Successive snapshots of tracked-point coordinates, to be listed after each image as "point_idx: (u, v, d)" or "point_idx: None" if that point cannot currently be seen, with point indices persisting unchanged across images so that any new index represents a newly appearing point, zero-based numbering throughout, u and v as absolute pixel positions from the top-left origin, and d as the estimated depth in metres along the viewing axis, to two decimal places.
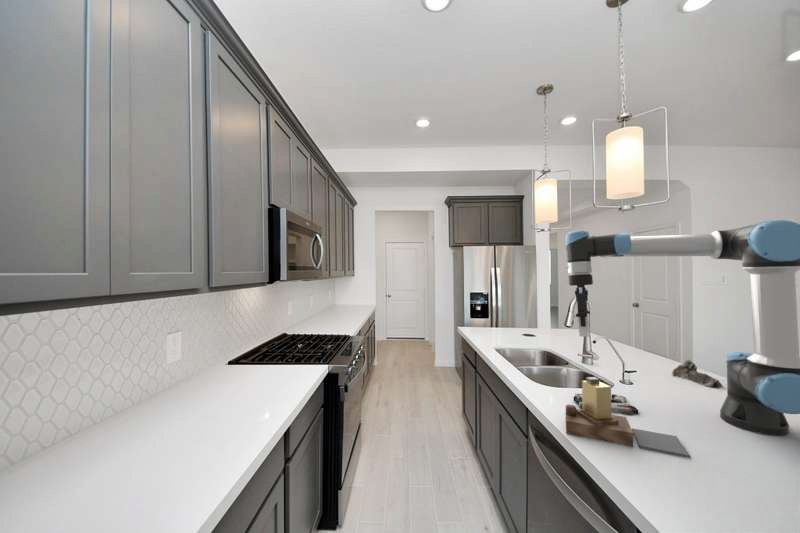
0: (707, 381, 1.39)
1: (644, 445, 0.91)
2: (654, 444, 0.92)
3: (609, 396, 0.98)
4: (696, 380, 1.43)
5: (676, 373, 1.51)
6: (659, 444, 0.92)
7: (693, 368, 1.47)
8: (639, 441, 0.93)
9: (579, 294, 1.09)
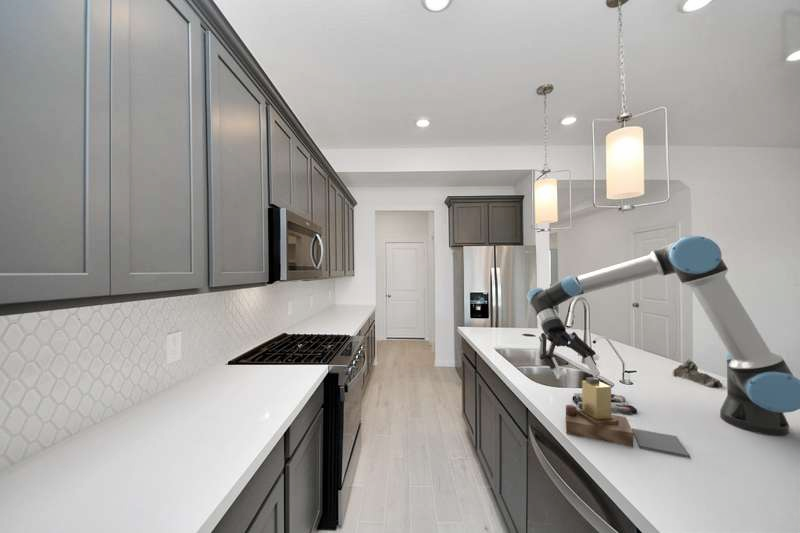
0: (708, 381, 1.39)
1: (644, 445, 0.91)
2: (654, 444, 0.92)
3: (609, 396, 0.98)
4: (697, 380, 1.43)
5: (677, 373, 1.51)
6: (659, 444, 0.92)
7: (694, 368, 1.47)
8: (639, 441, 0.93)
9: (541, 341, 1.16)
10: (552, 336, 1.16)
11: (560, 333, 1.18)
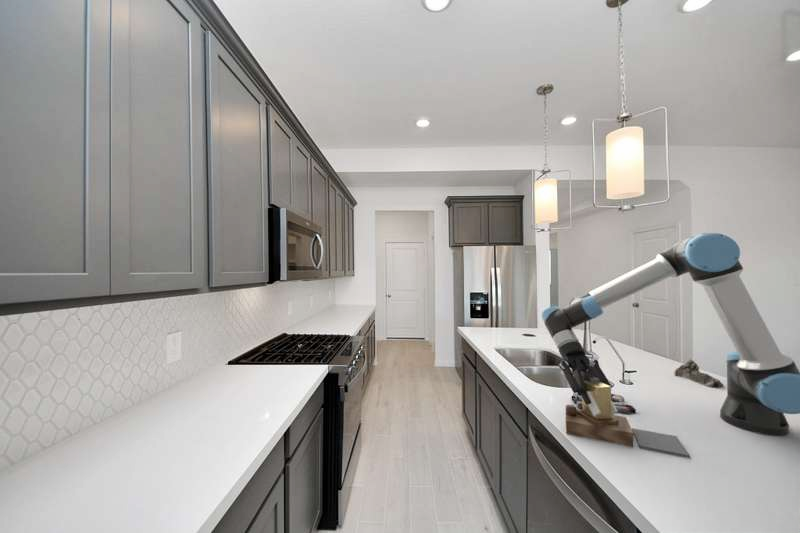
0: (708, 381, 1.39)
1: (644, 445, 0.91)
2: (654, 444, 0.92)
3: (609, 396, 0.98)
4: (697, 380, 1.43)
5: (678, 373, 1.52)
6: (659, 444, 0.92)
7: (695, 368, 1.47)
8: (639, 441, 0.93)
9: (564, 370, 1.06)
10: (571, 361, 1.07)
11: (579, 355, 1.09)
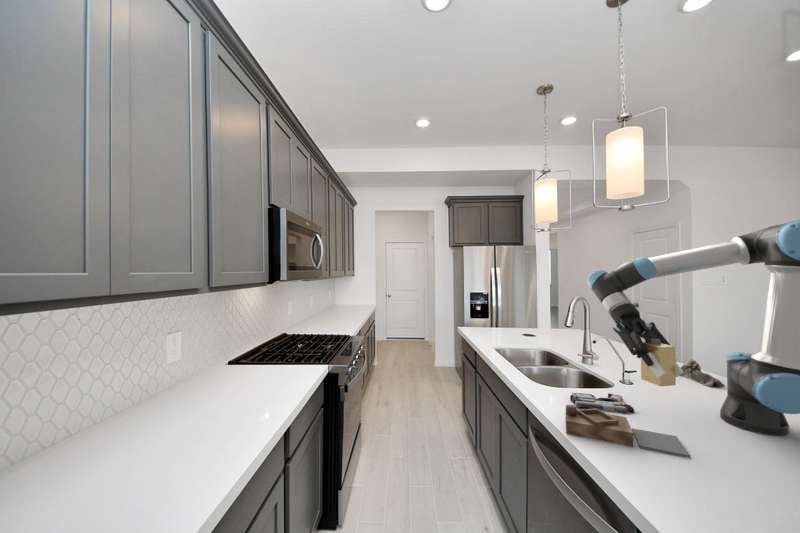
0: (708, 380, 1.39)
1: (644, 445, 0.91)
2: (654, 444, 0.92)
3: (673, 357, 0.91)
4: (698, 380, 1.44)
5: None
6: (659, 444, 0.92)
7: (697, 368, 1.47)
8: (639, 441, 0.93)
9: (619, 332, 0.99)
10: (627, 323, 1.01)
11: (634, 317, 1.03)
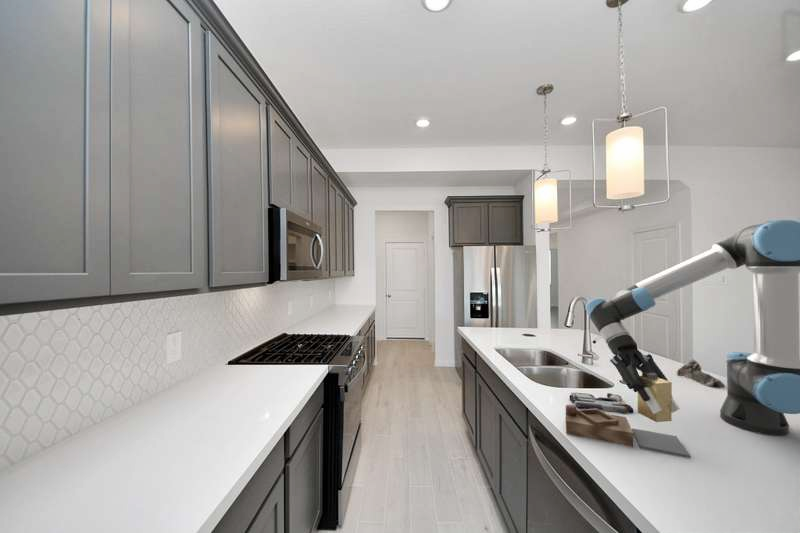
0: (708, 380, 1.39)
1: (644, 445, 0.91)
2: (654, 444, 0.92)
3: (669, 392, 0.91)
4: (698, 380, 1.44)
5: (681, 373, 1.52)
6: (659, 444, 0.92)
7: (697, 368, 1.47)
8: (639, 441, 0.93)
9: (617, 365, 1.00)
10: (624, 355, 1.01)
11: (631, 349, 1.03)
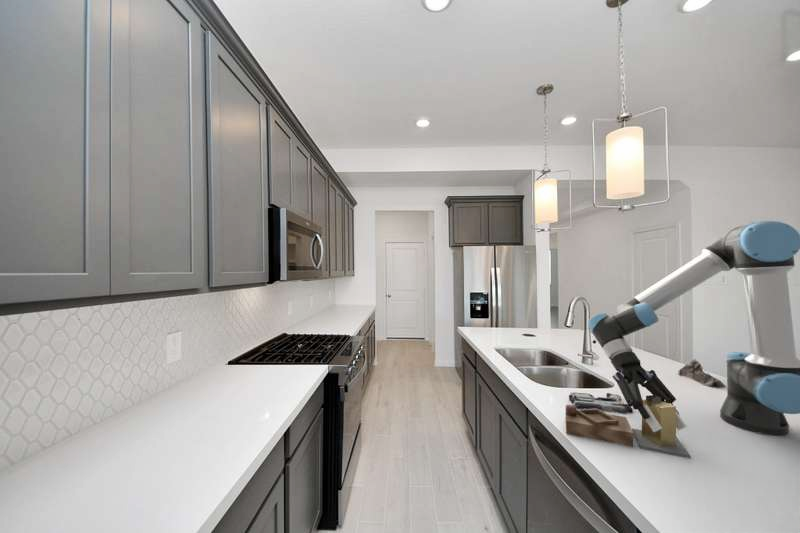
0: (708, 380, 1.40)
1: (644, 445, 0.91)
2: (654, 444, 0.92)
3: (674, 417, 0.91)
4: (699, 380, 1.44)
5: (682, 372, 1.52)
6: None
7: (698, 368, 1.47)
8: (639, 441, 0.93)
9: (618, 381, 1.00)
10: (627, 372, 1.01)
11: (634, 366, 1.02)
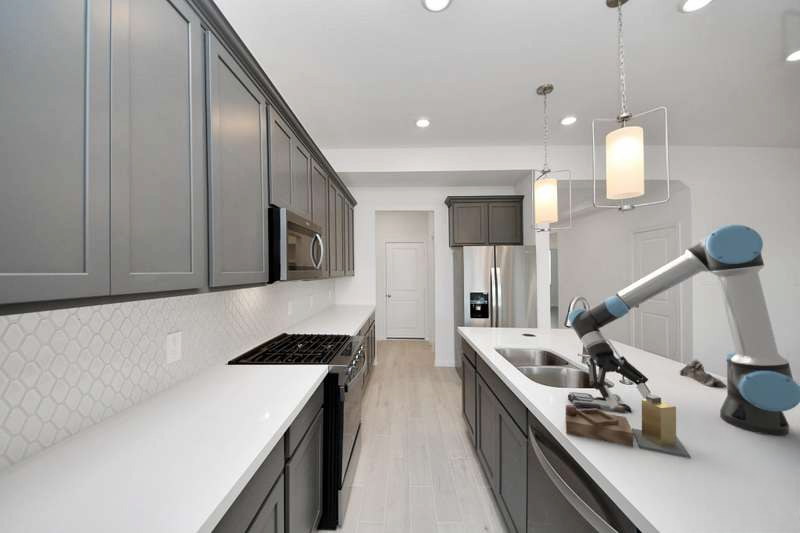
0: (709, 380, 1.40)
1: (644, 445, 0.91)
2: (654, 444, 0.92)
3: (674, 417, 0.91)
4: (699, 379, 1.44)
5: (684, 372, 1.52)
6: None
7: (700, 368, 1.47)
8: (639, 441, 0.93)
9: (589, 366, 1.10)
10: (601, 361, 1.11)
11: (609, 358, 1.12)
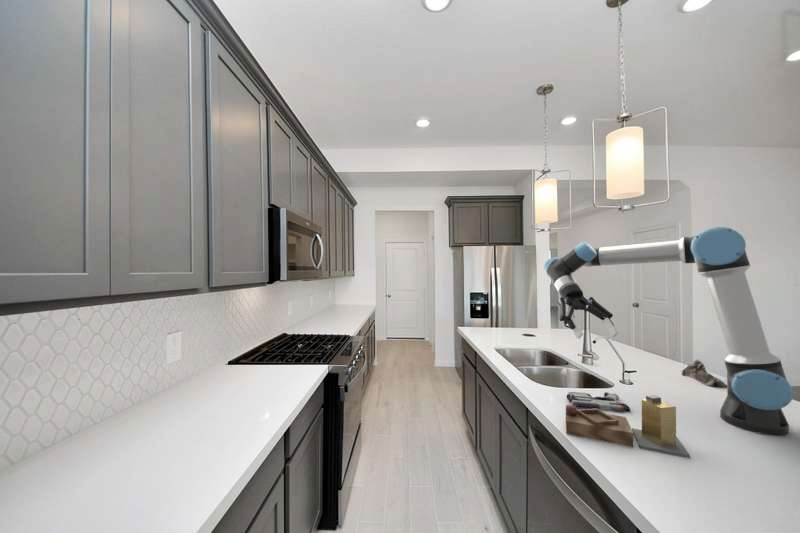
0: (709, 380, 1.40)
1: (644, 445, 0.91)
2: (654, 444, 0.92)
3: (674, 417, 0.91)
4: (700, 379, 1.44)
5: (686, 372, 1.52)
6: None
7: (701, 368, 1.47)
8: (639, 441, 0.93)
9: (560, 304, 1.20)
10: (571, 300, 1.21)
11: (578, 298, 1.22)
